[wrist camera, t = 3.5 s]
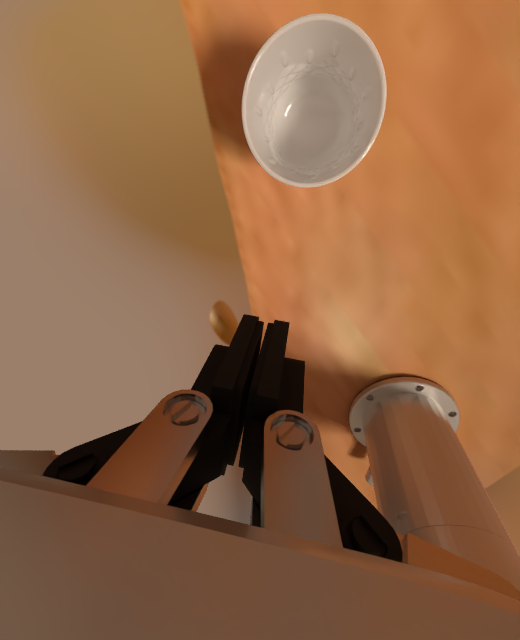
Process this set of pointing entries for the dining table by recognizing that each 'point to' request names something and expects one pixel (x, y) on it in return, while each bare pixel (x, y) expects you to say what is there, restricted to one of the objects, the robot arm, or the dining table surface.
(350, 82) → the white cup
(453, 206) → the dining table surface
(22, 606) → the robot arm
